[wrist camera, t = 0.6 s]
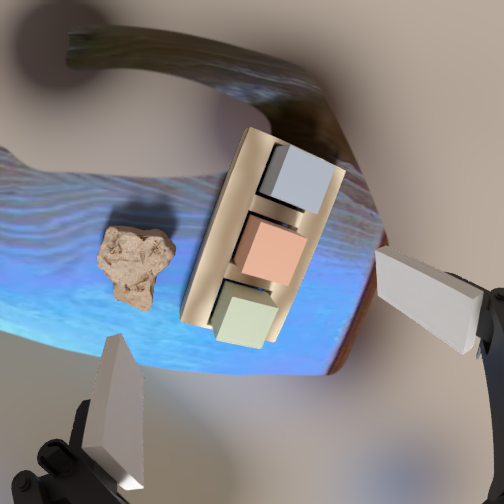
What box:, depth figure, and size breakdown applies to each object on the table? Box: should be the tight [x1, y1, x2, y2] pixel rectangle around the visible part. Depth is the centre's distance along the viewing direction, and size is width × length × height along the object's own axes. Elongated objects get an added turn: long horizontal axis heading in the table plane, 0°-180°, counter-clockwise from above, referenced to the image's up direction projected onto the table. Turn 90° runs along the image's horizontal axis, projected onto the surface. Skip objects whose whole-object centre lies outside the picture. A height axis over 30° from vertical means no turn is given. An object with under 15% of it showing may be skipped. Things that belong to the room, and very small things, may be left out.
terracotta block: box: [233, 215, 307, 286], centre depth 37 cm, size 6×6×5 cm
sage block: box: [211, 281, 279, 349], centre depth 38 cm, size 6×6×5 cm
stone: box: [97, 225, 176, 311], centre depth 36 cm, size 9×11×5 cm
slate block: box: [259, 145, 336, 214], centre depth 35 cm, size 6×6×5 cm
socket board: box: [180, 127, 345, 342], centre depth 40 cm, size 14×26×3 cm, turn 159°
